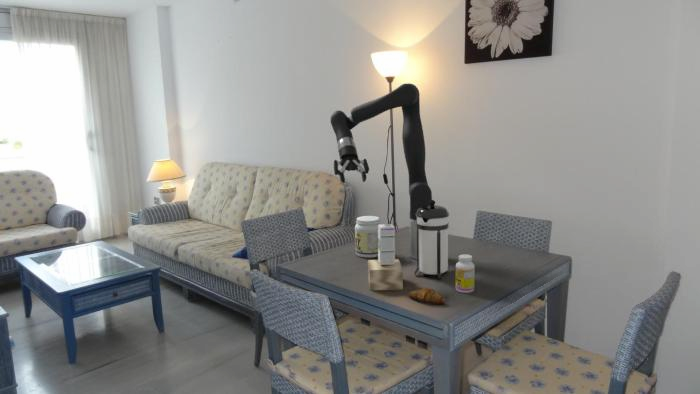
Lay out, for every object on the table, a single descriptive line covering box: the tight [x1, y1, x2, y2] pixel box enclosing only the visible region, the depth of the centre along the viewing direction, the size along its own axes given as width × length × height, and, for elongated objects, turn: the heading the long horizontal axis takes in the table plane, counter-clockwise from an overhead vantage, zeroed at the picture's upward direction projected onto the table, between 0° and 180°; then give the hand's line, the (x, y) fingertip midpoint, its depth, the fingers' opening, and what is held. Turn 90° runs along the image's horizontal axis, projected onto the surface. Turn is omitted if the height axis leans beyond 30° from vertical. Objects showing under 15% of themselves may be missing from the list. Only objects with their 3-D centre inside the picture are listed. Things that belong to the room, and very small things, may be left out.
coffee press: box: [413, 199, 451, 281], centre depth 199 cm, size 17×16×30 cm
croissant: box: [408, 287, 446, 306], centre depth 173 cm, size 14×7×5 cm, turn 55°
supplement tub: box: [354, 215, 381, 259], centre depth 227 cm, size 12×12×17 cm
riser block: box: [367, 258, 404, 291], centre depth 190 cm, size 12×12×8 cm
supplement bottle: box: [455, 253, 476, 294], centre depth 181 cm, size 7×7×13 cm
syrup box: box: [377, 223, 396, 265], centre depth 189 cm, size 6×6×14 cm
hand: (354, 181), depth 204 cm, fingers open, 8 cm apart
